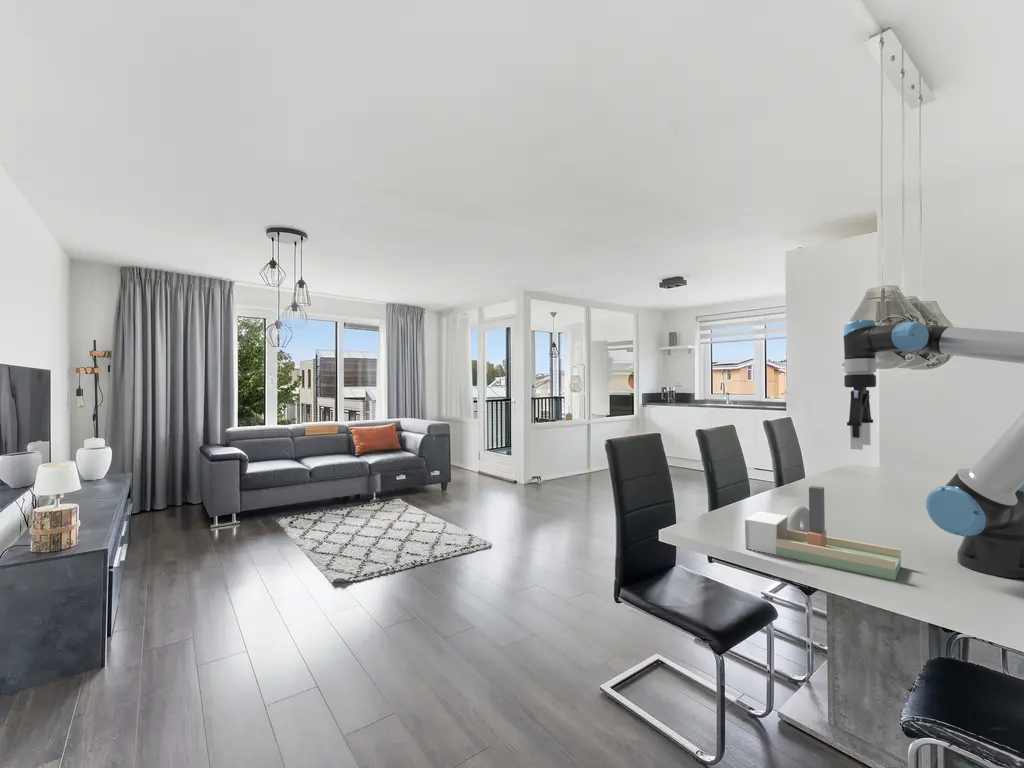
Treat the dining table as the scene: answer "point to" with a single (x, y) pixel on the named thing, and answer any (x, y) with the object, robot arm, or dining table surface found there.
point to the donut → (799, 519)
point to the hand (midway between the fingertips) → (860, 447)
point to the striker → (816, 517)
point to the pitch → (819, 547)
